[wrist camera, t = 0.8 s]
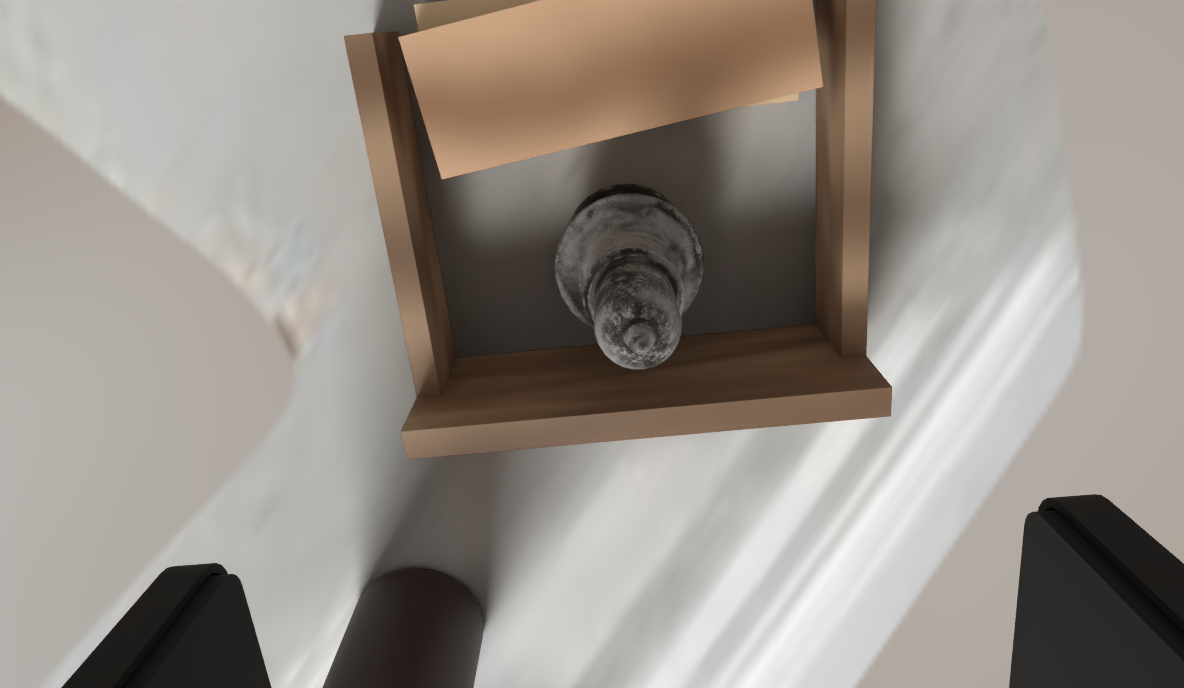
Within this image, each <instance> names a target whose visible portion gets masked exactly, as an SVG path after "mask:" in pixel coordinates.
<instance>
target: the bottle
mask: <svg viewBox="0 0 1184 688" xmlns="http://www.w3.org/2000/svg"><path fill="white" fill-rule="evenodd" d="M483 628H484V620H483V616H482V613H481V609H480V606H479V603H478V602H477V600H476V599H475V598H474V596H473V595H472V593H471V592H470V591H469V589H467V588H466V587H465V586H463V585H462V584H461V583H459V582H458V581H457V580H455V579H454V578H452V577H450V576H447V575H445V574H442V573H439V572H437V571H434V570H426V569H417V568H411V569H405V570H398V571H393V572H391V573H389V574H387V575H384V576H382V577H380V578H378V579H376V580H375V581H374V582H373V583H372V584H371V585H370V586H369V587H368V588H367V589H366V590H365V591H364V592H363V593H362V595H361V597H360V599H359V601H358V603H357V605H356V607H355V610H354V612H353V615H352V617H351V619H350V622H349V624H348V627H347V629H346V632H345V634H344V637H343V639H342V641H341V644H340V646H339V649H338V651H337V654H336V656H335V659H334V661H333V663H332V666H331V668H330V671H329V673H328V676H327V678H326V681H325V683H324V685H323V688H473V687H474V682H475V676H476V670H477V665H478V659H479V654H480V648H481V643H482V637H483Z"/></svg>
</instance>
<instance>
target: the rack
mask: <svg viewBox="0 0 1184 688" xmlns="http://www.w3.org/2000/svg"><path fill="white" fill-rule="evenodd" d="M875 16H876V0H816V33H817V41H818V49H819V57H820V66H821V74H822V82H823V87H820V88H816V324H810V325H800V326H789V327H779V328H768V329H757V330H747V331H736V332H726V333H715V334H704V335H694V336H683V337H680V339H679V342H678V345H677V346H676V348H675V350H674V351H673V353H672V354H671V355H670V356H669V357H668V358H667V359H666V360H665V361H664V362H662V363H660V364H658V365H656V366H654V367H651V368H647V369H629V368H625V367H622V366H620V365H618V364H616V363H614V362H613V361H612V360H611V359H610V358H608V357H607V356H606V355H605V353H604V352H603V350H602V349H601V347H600V346H599V344H598V345H588V346H577V347H566V348H556V349H545V350H535V351H524V352H513V353H503V354H492V355H481V356H471V357H460V358H456V353H455V347H454V342H453V336H452V330H451V325H450V319H449V314H448V308H447V302H446V297H445V291H444V286H443V280H442V275H441V269H440V263H439V258H438V252H437V247H436V241H435V235H434V230H433V224H432V219H431V213H430V207H429V202H428V196H427V191H426V185H425V179H424V174H423V168H422V163H421V157H420V152H419V146H418V140H417V135H416V129H415V124H414V118H413V112H412V107H411V101H410V96H409V90H408V84H407V79H406V73H405V68H404V62H403V57H402V51H401V45H400V42H399V39H398V37H399V34H398V32H385V33H366V34H357V35H348V36H344V40H345V45H346V50H347V55H348V60H349V65H350V70H351V74H352V79H353V84H354V89H355V94H356V99H357V104H358V109H359V114H360V119H361V124H362V129H363V134H364V139H365V143H366V148H367V153H368V158H369V163H370V168H371V173H372V178H373V183H374V188H375V193H376V198H377V203H378V208H379V213H380V217H381V222H382V227H383V232H384V237H385V242H386V247H387V252H388V257H389V262H390V267H391V272H392V277H393V282H394V286H395V291H396V296H397V301H398V306H399V311H400V316H401V321H402V326H403V331H404V336H405V341H406V346H407V351H408V356H409V360H410V365H411V370H412V375H413V380H414V385H415V390H416V395H417V399H416V401H415V403H414V405H413V407H412V409H411V411H410V413H409V415H408V418H407V420H406V422H405V424H404V426H403V428H402V430H401V436H402V440H403V445H404V450H405V454H406V459H418V458H429V457H440V456H451V455H462V454H474V453H485V452H496V451H507V450H518V449H530V448H541V447H552V446H563V445H574V444H585V443H597V442H608V441H619V440H630V439H641V438H653V437H664V436H675V435H686V434H697V433H709V432H720V431H731V430H742V429H753V428H765V427H776V426H787V425H798V424H809V423H820V422H832V421H843V420H854V419H865V418H876V417H888V416H891V402H892V387H891V385H890V384H889V383H888V382H887V380H886V379H885V378H884V377H883V376H882V374H881V373H880V372H879V371H878V370H877V368H876V367H875V366H874V365H873V364H872V362H871V361H870V360H869V359H868V358H867V356H866V346H867V310H868V273H869V236H870V199H871V163H872V126H873V89H874V53H875Z"/></svg>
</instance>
